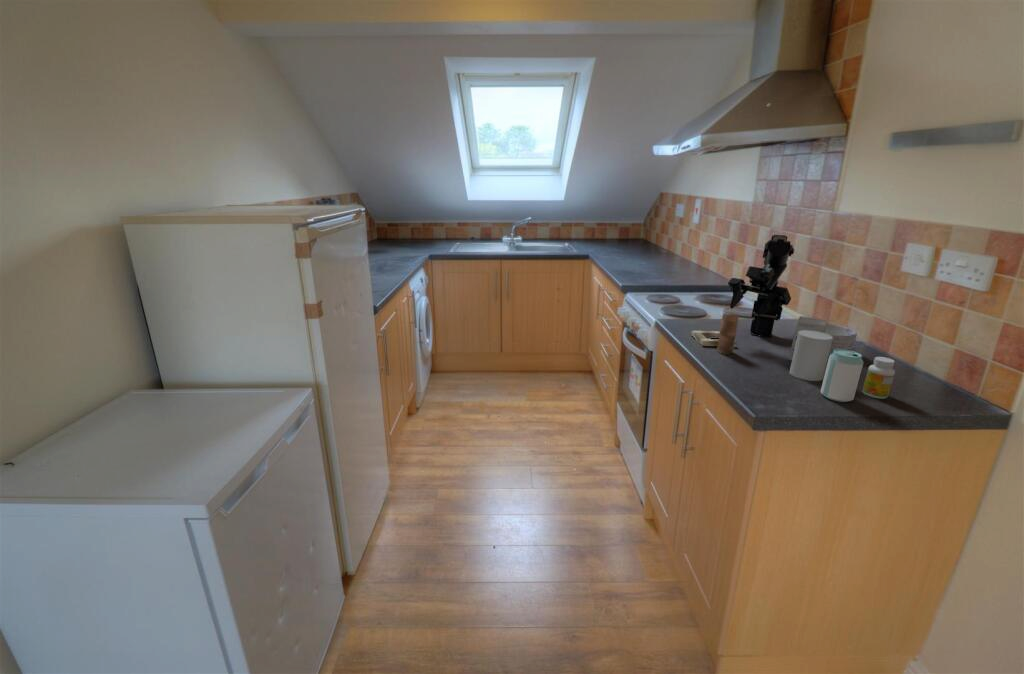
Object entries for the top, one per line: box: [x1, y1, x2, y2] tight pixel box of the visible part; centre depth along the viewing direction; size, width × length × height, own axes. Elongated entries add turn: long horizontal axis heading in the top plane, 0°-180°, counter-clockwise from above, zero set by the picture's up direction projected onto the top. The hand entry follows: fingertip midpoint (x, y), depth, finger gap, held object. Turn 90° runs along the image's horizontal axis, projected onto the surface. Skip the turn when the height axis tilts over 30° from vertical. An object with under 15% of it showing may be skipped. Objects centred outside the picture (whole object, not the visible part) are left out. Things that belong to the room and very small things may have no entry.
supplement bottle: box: [862, 356, 896, 400], centre depth 120 cm, size 5×5×10 cm
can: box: [820, 349, 864, 403], centre depth 118 cm, size 7×7×12 cm
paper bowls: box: [824, 323, 858, 357], centre depth 151 cm, size 15×15×8 cm
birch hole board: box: [690, 330, 737, 348], centre depth 159 cm, size 11×11×2 cm
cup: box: [789, 330, 833, 382], centre depth 131 cm, size 8×8×12 cm
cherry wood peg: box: [716, 311, 740, 355], centre depth 148 cm, size 5×5×12 cm
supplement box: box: [788, 316, 828, 361], centre depth 143 cm, size 7×7×13 cm
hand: (744, 311), depth 150 cm, fingers open, 9 cm apart
